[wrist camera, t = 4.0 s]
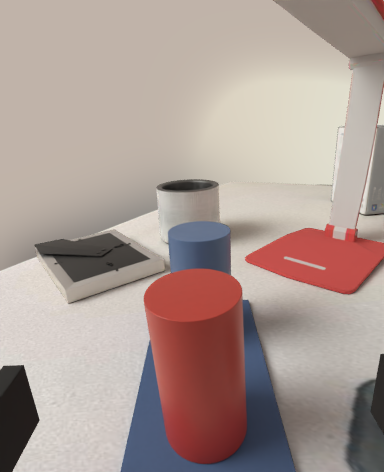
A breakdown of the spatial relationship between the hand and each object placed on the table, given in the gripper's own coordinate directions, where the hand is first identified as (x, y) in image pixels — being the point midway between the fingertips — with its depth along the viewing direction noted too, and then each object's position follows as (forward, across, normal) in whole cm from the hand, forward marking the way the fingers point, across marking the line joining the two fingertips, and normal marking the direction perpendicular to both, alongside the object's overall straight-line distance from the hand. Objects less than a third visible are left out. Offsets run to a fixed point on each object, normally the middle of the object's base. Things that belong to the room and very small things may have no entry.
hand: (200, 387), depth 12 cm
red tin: (+9, 0, -13) cm, 16 cm away
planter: (+54, -2, -14) cm, 56 cm away
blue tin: (+22, 0, -13) cm, 25 cm away
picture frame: (+42, -19, -14) cm, 48 cm away
